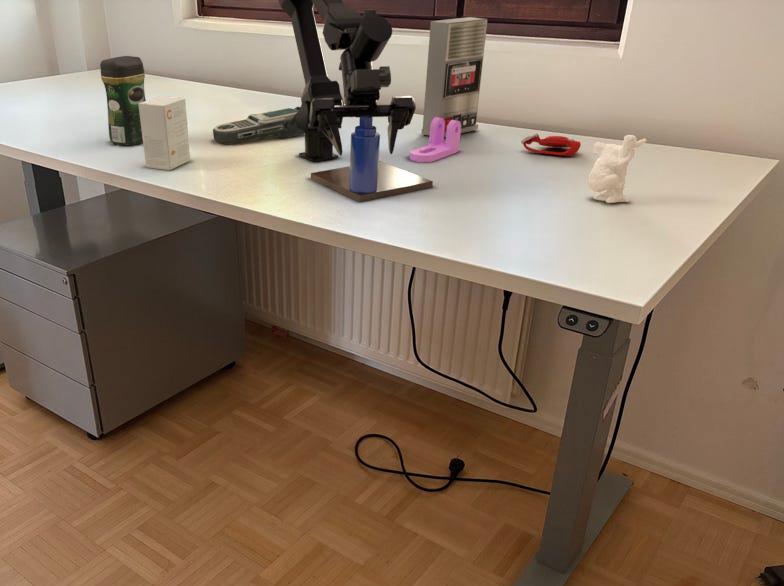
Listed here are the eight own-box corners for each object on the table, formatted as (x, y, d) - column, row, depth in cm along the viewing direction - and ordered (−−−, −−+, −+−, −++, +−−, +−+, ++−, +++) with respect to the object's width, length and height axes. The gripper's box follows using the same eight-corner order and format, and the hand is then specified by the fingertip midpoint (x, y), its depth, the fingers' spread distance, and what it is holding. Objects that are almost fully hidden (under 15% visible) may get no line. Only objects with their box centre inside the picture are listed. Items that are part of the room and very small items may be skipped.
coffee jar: (134, 134, 180) (125, 52, 170) (157, 139, 175) (149, 55, 166) (103, 143, 173) (91, 57, 163) (127, 148, 169) (116, 61, 159)
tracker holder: (556, 139, 170) (591, 137, 161) (553, 159, 171) (588, 158, 162) (517, 132, 164) (551, 130, 155) (514, 153, 165) (548, 152, 156)
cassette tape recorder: (440, 139, 175) (450, 23, 162) (421, 134, 179) (429, 21, 166) (478, 130, 182) (491, 19, 170) (459, 126, 186) (470, 17, 174)
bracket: (437, 147, 168) (440, 115, 165) (458, 151, 165) (461, 119, 162) (404, 159, 160) (406, 126, 156) (426, 163, 157) (429, 130, 153)
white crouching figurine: (638, 200, 135) (653, 133, 129) (623, 210, 131) (639, 140, 125) (592, 191, 140) (605, 126, 134) (577, 200, 135) (590, 133, 129)
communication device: (204, 137, 178) (201, 99, 173) (293, 125, 187) (292, 89, 183) (223, 148, 168) (220, 108, 164) (316, 135, 178) (315, 97, 173)
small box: (166, 157, 161) (160, 95, 155) (191, 161, 159) (186, 97, 153) (144, 167, 155) (137, 102, 148) (170, 170, 153) (164, 105, 146)
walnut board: (310, 179, 147) (310, 173, 147) (379, 166, 155) (380, 160, 154) (359, 202, 135) (359, 195, 134) (432, 187, 142) (432, 181, 142)
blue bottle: (343, 187, 138) (345, 115, 132) (366, 183, 141) (369, 112, 134) (359, 195, 135) (362, 121, 128) (383, 190, 137) (386, 118, 130)
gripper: (311, 50, 128) (318, 130, 124) (417, 48, 130) (428, 127, 126) (306, 89, 139) (313, 164, 135) (404, 87, 141) (413, 161, 137)
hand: (366, 153), depth 133 cm, fingers open, 9 cm apart
